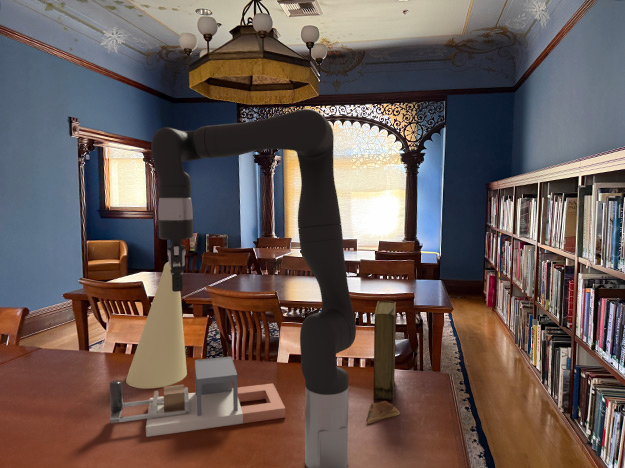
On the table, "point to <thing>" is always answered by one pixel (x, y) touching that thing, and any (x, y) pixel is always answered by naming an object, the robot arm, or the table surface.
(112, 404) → the sled
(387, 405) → the shard
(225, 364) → the tunnel
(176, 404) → the block
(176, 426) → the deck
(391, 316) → the book
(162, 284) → the cone light
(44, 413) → the table surface
